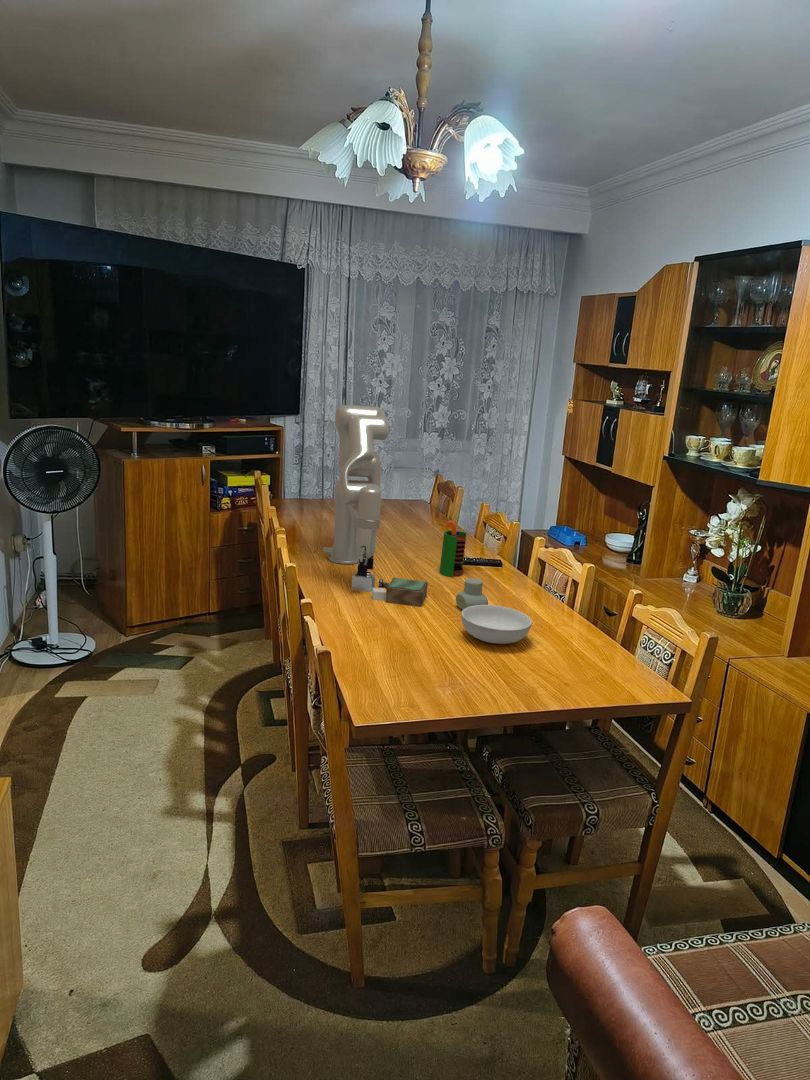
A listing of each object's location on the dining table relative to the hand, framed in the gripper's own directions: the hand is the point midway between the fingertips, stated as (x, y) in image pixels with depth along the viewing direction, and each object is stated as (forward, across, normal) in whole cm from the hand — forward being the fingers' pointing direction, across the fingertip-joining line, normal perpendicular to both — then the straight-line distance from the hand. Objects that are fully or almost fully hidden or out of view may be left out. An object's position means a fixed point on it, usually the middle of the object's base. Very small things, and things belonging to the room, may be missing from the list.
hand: (365, 572), depth 256 cm
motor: (+6, -33, +27) cm, 43 cm away
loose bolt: (+6, -6, +8) cm, 11 cm away
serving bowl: (+8, +29, +47) cm, 56 cm away
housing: (+6, -1, -1) cm, 6 cm away
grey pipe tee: (+7, +6, +38) cm, 39 cm away
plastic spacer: (+6, +7, +7) cm, 12 cm away
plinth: (+6, +4, +16) cm, 17 cm away
